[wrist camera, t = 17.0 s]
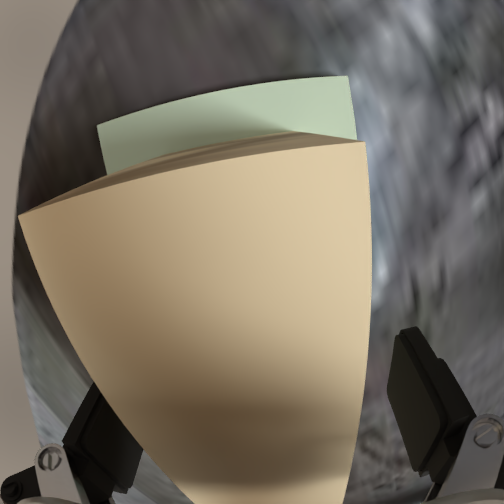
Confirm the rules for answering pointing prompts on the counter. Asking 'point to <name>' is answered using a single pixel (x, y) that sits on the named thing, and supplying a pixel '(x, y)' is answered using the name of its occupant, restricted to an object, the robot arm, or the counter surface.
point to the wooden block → (224, 309)
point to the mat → (229, 119)
